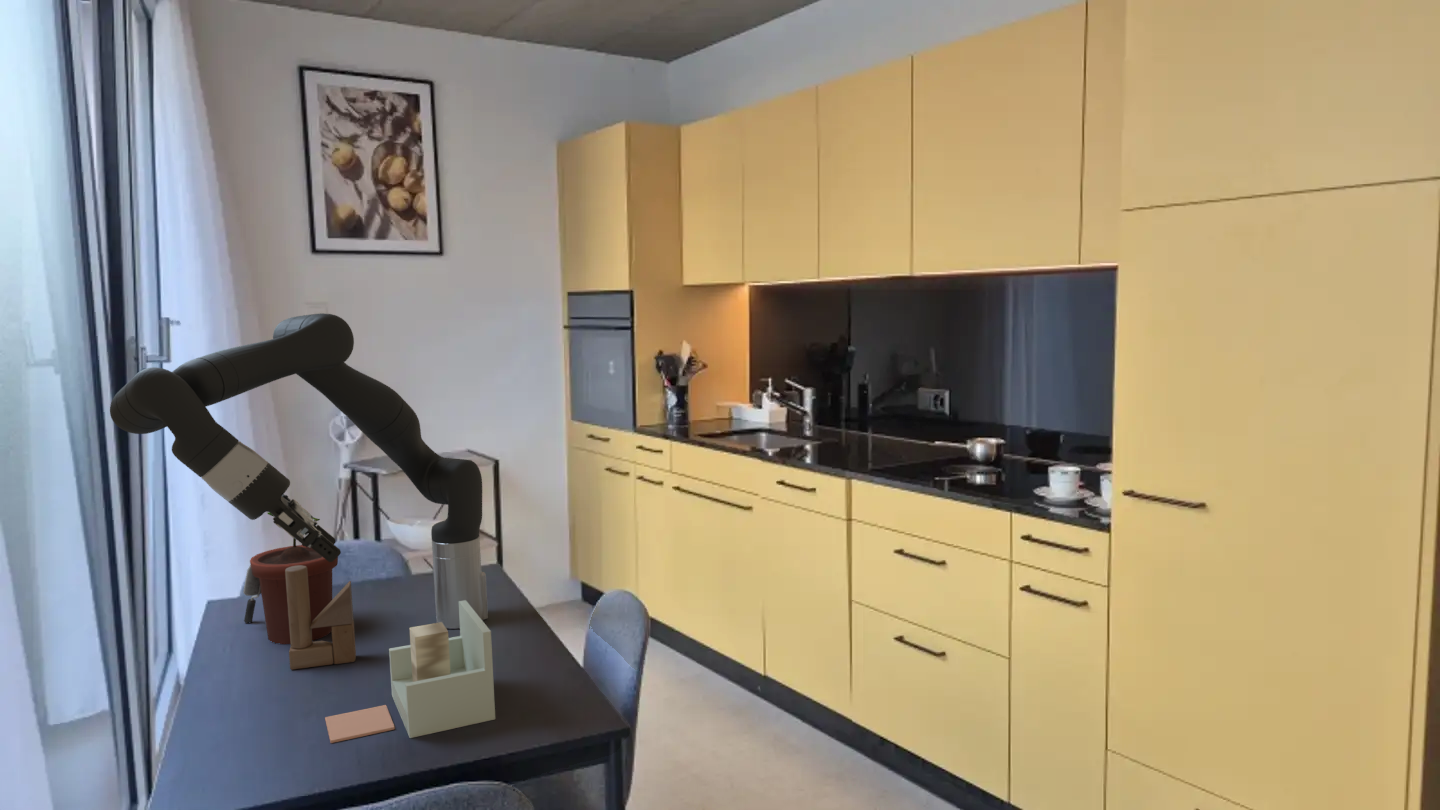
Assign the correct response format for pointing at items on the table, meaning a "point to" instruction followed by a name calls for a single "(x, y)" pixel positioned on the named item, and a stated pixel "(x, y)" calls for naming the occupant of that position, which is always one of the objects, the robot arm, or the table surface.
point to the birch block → (429, 651)
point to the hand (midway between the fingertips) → (334, 551)
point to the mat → (359, 723)
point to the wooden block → (318, 624)
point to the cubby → (448, 682)
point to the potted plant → (271, 584)
